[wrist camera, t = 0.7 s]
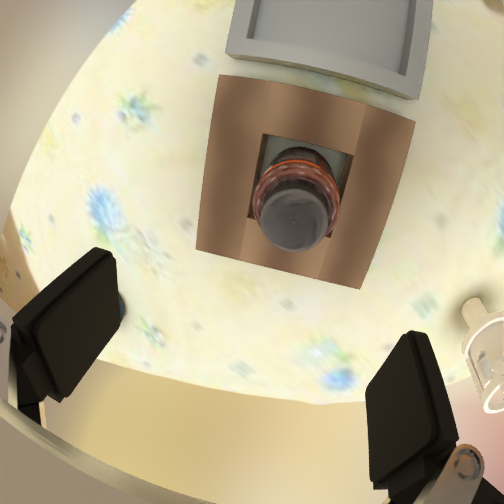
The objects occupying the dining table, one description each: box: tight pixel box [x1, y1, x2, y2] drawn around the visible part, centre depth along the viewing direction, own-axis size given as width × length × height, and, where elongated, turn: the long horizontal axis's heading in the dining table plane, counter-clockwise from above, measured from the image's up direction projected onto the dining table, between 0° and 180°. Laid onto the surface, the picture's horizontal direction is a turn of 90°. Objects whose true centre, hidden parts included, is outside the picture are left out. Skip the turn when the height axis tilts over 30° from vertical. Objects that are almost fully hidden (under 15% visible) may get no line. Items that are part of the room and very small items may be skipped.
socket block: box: [196, 75, 416, 289], centre depth 25 cm, size 16×16×4 cm
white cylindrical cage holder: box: [461, 297, 504, 413], centre depth 23 cm, size 7×7×15 cm
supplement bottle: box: [253, 147, 340, 252], centre depth 22 cm, size 6×6×11 cm
